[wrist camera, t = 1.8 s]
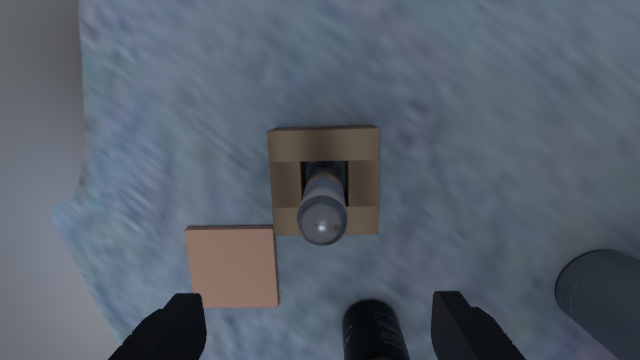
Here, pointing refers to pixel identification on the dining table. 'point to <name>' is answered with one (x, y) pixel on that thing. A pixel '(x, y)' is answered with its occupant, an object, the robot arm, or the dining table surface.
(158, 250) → the dining table surface
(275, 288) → the terracotta mat
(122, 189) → the dining table surface
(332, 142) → the walnut block
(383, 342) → the supplement bottle
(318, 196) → the metal pin
